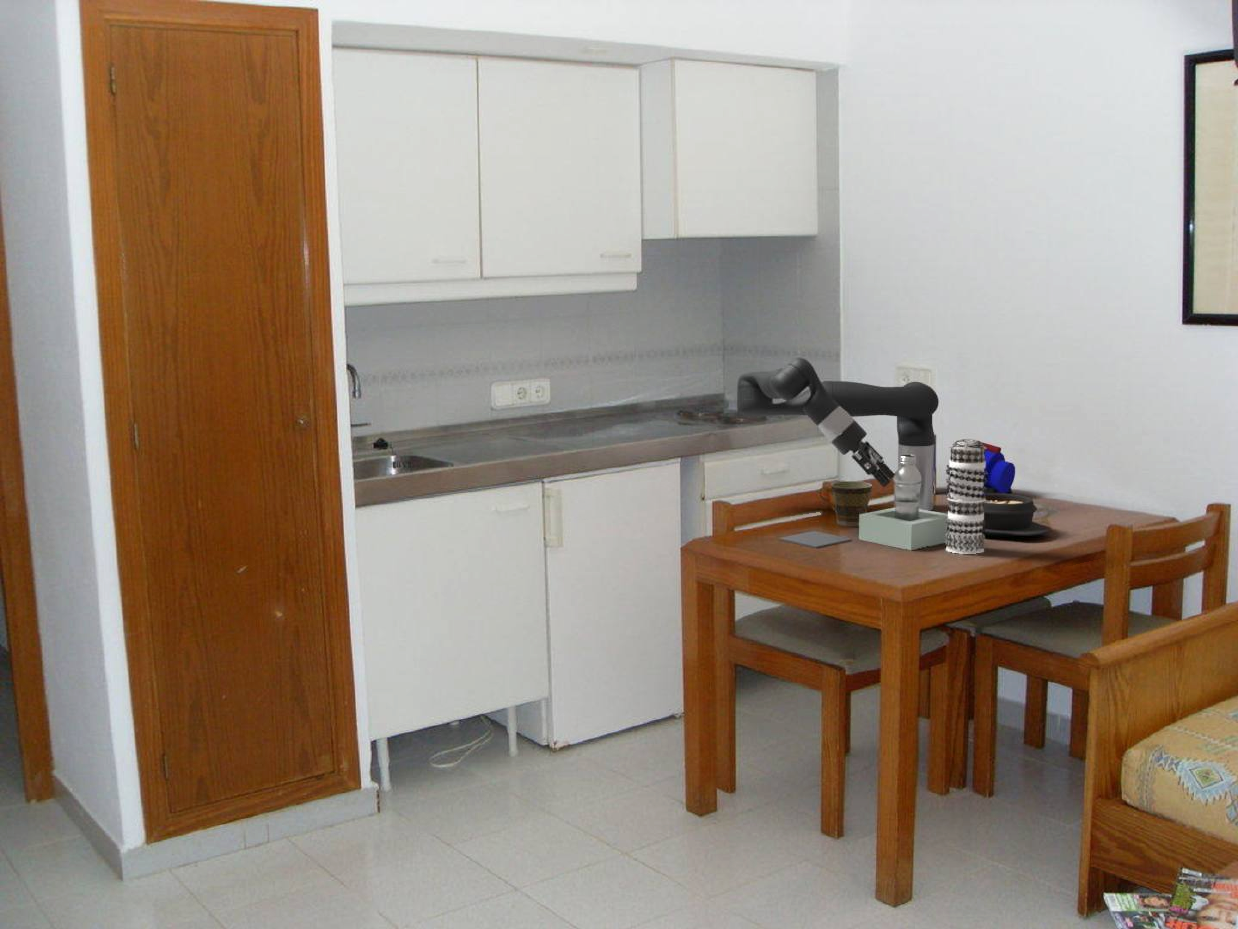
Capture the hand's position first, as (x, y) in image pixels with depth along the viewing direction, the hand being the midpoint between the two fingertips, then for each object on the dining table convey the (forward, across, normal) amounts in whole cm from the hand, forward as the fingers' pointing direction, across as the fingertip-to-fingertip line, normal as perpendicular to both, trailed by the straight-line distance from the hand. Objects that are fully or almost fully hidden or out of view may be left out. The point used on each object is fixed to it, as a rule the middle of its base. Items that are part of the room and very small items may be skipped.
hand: (889, 481), depth 302 cm
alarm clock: (+25, -64, +4) cm, 69 cm away
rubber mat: (-1, +4, -22) cm, 22 cm away
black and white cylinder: (+22, +7, +3) cm, 24 cm away
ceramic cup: (+2, -16, -19) cm, 25 cm away
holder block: (+13, -1, -7) cm, 15 cm away
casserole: (+27, -15, +8) cm, 32 cm away
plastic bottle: (+13, -1, -7) cm, 15 cm away
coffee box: (+11, -64, -9) cm, 66 cm away
